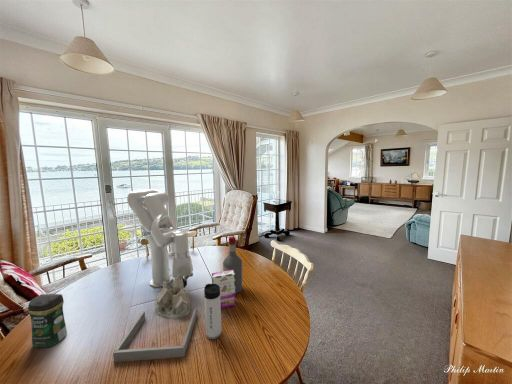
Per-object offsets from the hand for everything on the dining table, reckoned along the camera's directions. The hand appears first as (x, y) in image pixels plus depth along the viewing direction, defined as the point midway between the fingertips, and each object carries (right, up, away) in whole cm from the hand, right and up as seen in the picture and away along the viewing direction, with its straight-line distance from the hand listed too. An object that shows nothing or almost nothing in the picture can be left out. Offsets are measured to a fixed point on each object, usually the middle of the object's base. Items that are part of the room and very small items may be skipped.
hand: (184, 286), depth 114 cm
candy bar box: (+24, -4, -13) cm, 28 cm away
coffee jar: (-41, -6, -33) cm, 53 cm away
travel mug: (+23, -5, -31) cm, 38 cm away
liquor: (+27, -2, +1) cm, 28 cm away
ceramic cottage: (0, -4, -15) cm, 16 cm away
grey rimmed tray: (+2, -5, -31) cm, 32 cm away
